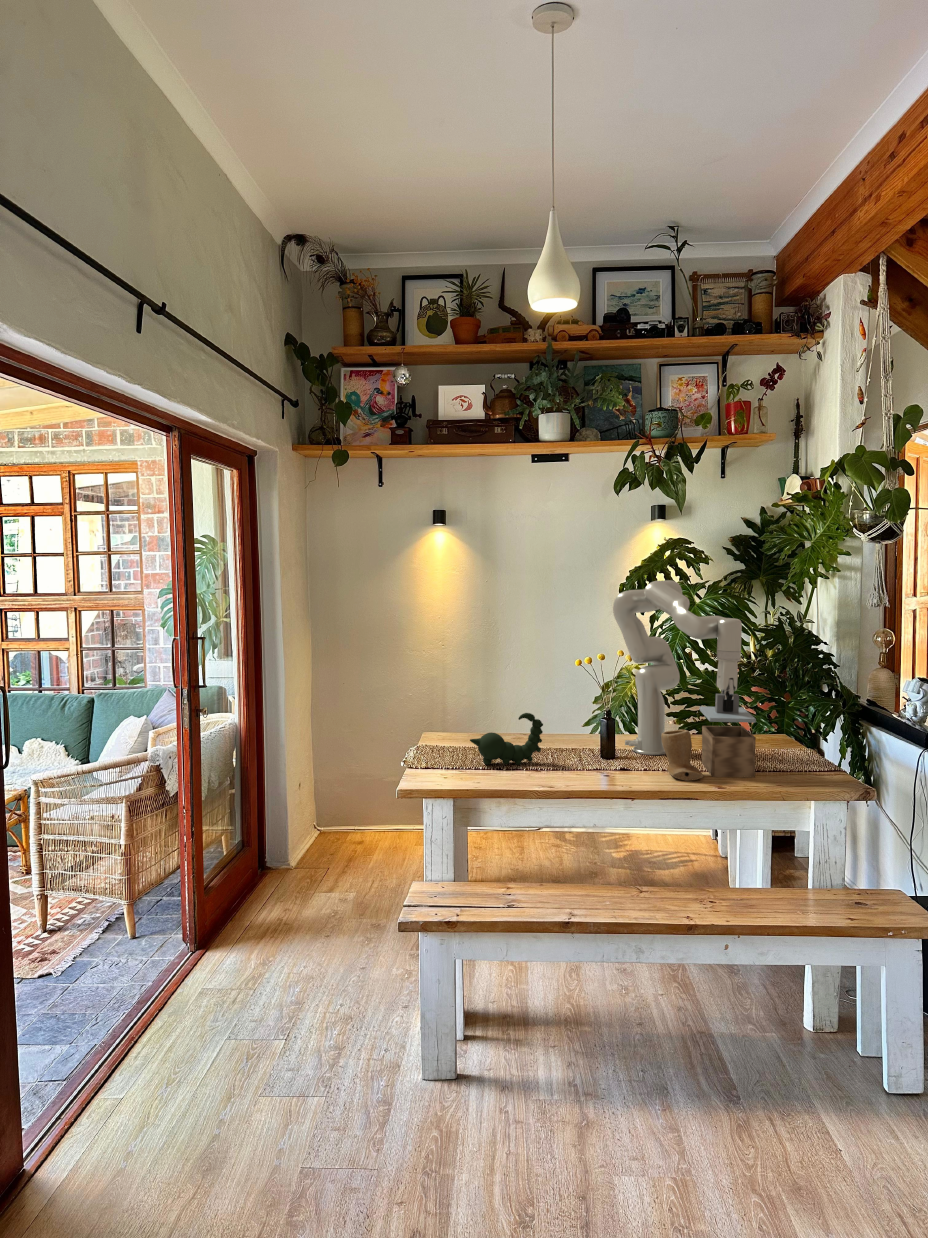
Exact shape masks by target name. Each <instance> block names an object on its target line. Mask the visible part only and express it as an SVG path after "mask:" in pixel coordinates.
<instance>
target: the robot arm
mask: <svg viewBox="0 0 928 1238" xmlns="http://www.w3.org/2000/svg"><path fill="white" fill-rule="evenodd" d="M682 589H683V588H682V587H681V585H680V584H679V583H678V582H677V581H675V580H672V579H670V580H669V579H666V580H665V579H664V580H655V581H651V582H649V583H648V584H647V585H646V586H645V588H643V589H629V590H625V591H622V592H620V593H618V594H617V596H616V597H615V598H614V601H613V605H612V606H613V607H612V613H613V616H614V620H615V621H616V623H617V625H618V628H619V629H620V632H621V634H622V637H623V640H624V642H625V645H626V648H627V651H628V653H629V656H630V658H631V660H632V661H633V662H634V663H635V664H639V665H641V664H643V665H644V664H649V665H645V666H642V667H641V668H640V669H638V670H637V672H636V673H635V678H634V680H635V681H634V682H635V688H636V692H637V736H636V737H635V739H625V740H624V746H629V747H633V751H634V752H635V753H636V754H641V755H647V756H662V755H666V752H665V750H664V748H663V745H662V738H661V735H662V733H663V732H666V731H665V730H666V729H665V725H666V723H665V719H666V718H665V717H666V712H665V710H666V708H665V707H666V706H665V704H666V703H665V699H664V697H663V695H662V692H661V691H666V690H671V689H674V688H675V687H676V686H678V684H679V683H680V676H681V675H680V671H679V668H678V665H677V663H676V660H675V658H674V657H675V656H674V654H673V652H672V650H671V647H670V645H669V643H668V642H667V641H666V639H664V638H662V637H660V636H649V635H648V632H647V630H646V628H645V624H644V623H643V622H642V620H641V619H640V618H639V617H638V616H637V615H636V614H637V613H650V612H651V613H652V612H654V611H657V610H660V611H662V612H664V613H665V614H667V615H668V616H670V617H671V618H672V621H673V623H674V625H675V626H676V627H677V629H679V631H681V632H683V633H684V634H686V635H687V636H688V637H691V638H693V639H695V640H707V639H708V640H709V639H716V638H717V639H716V640H717V643H716V645H717V646H716V660H717V661H718V662H717V663H718V664H717V674H716V687H717V688H718V689H719V690H720V691H721V692H720V694H724V699H723V711H724V712H733V701H734V700H733V698H734V694H735V693H734V692H736V691H737V689H738V675H739V674H738V671H739V670H738V668H739V667H738V662H741V659H742V657H741V656H742V655H741V653H742V632H743V631H742V630H743V629H742V627H743V623H742V621H741V620H740V619H738V618H731V617H723V616H721V615H707V616H706V615H705V616H698V615H696V614H695V613H693V612H691V611H690V610H689V608H690V600H689V598H688V597H687V596H686V595H684V594H683V590H682ZM650 663H651V665H650Z"/></svg>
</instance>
